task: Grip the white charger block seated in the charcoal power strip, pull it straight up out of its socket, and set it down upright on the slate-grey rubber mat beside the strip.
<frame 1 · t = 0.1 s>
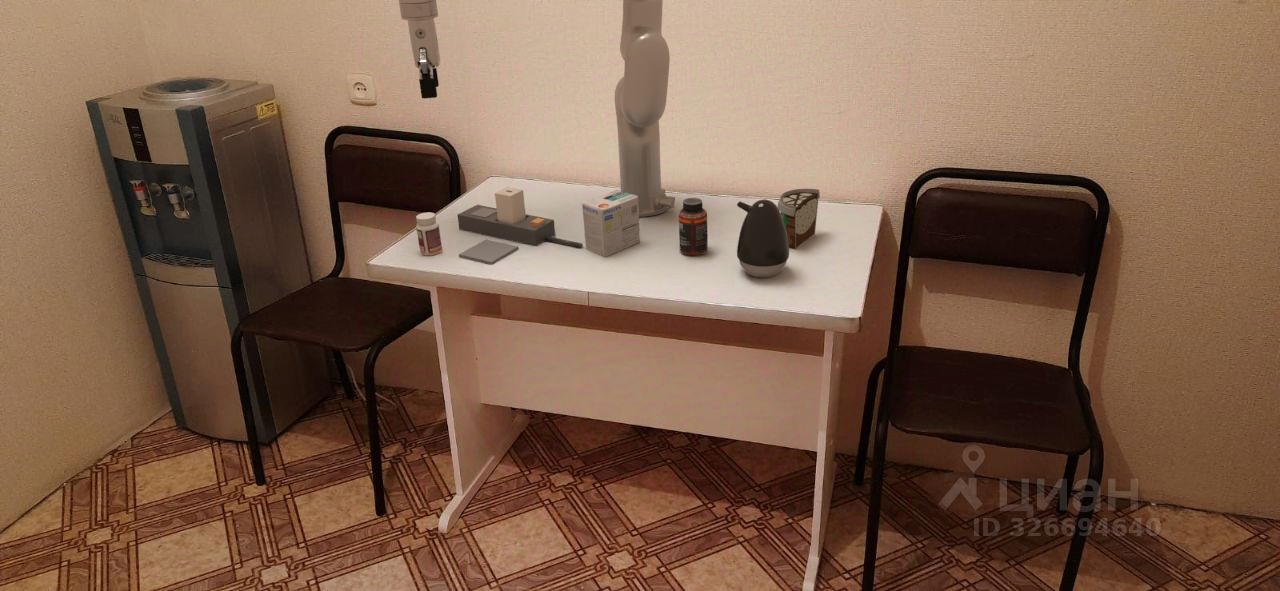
hand: (430, 92, 194), 31 cm above the table, fingers open, 9 cm apart
light bulb box: (613, 246, 194), on the table
food container: (792, 240, 194), on the table
pump dispenser: (761, 272, 180), on the table
pill bottle: (431, 252, 195), on the table
power strip: (506, 232, 204), on the table
grey mat: (489, 252, 193), on the table
charger: (512, 225, 202), point 2 cm above the table, touching power strip
supplement bottle: (693, 252, 190), on the table
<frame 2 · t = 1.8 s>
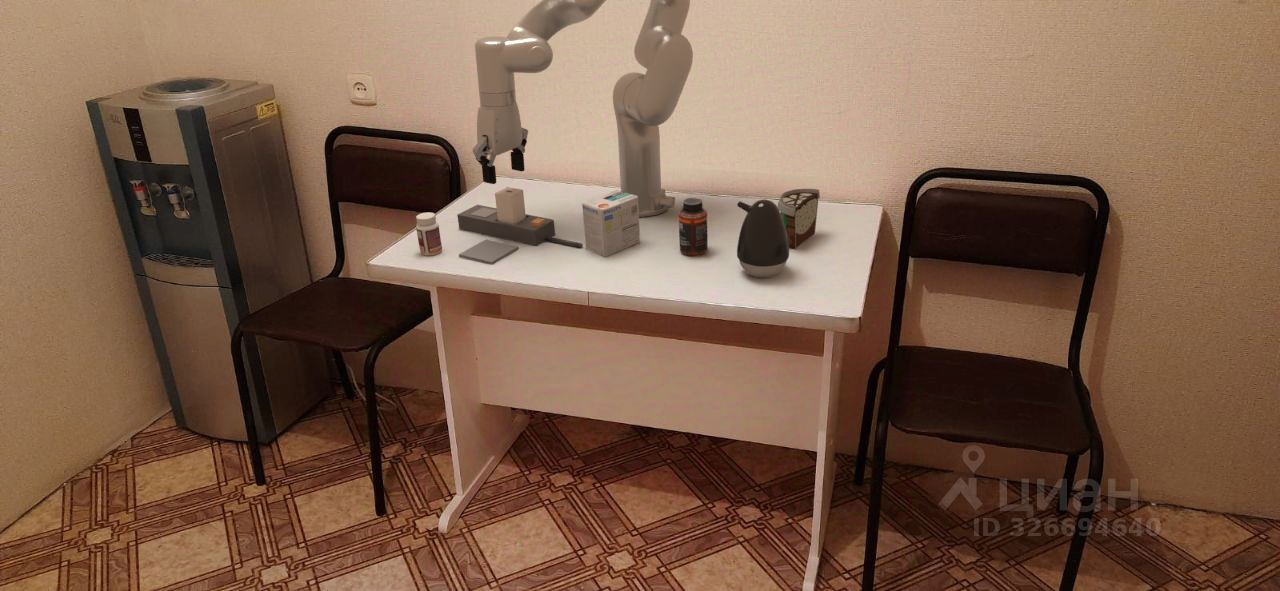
hand: (504, 176, 196), 14 cm above the table, fingers open, 9 cm apart
nothing on the table moved.
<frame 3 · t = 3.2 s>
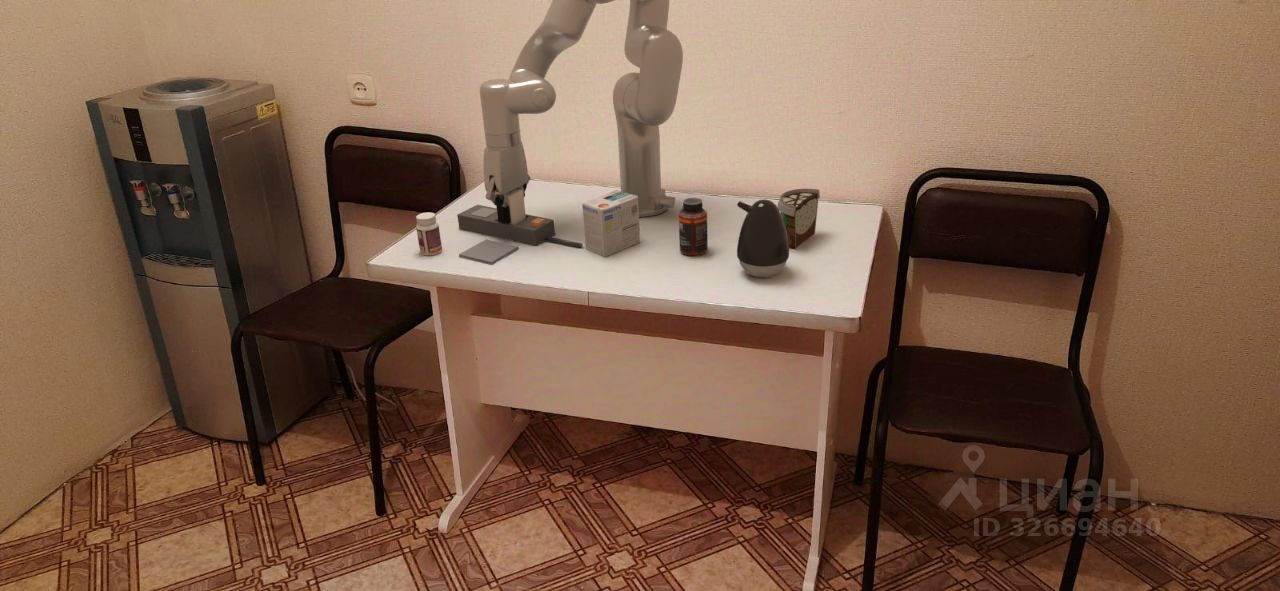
hand: (511, 217, 201), 4 cm above the table, fingers closed on charger, 4 cm apart
charger: (512, 225, 202), point 2 cm above the table, touching gripper, power strip
everything else where it was.
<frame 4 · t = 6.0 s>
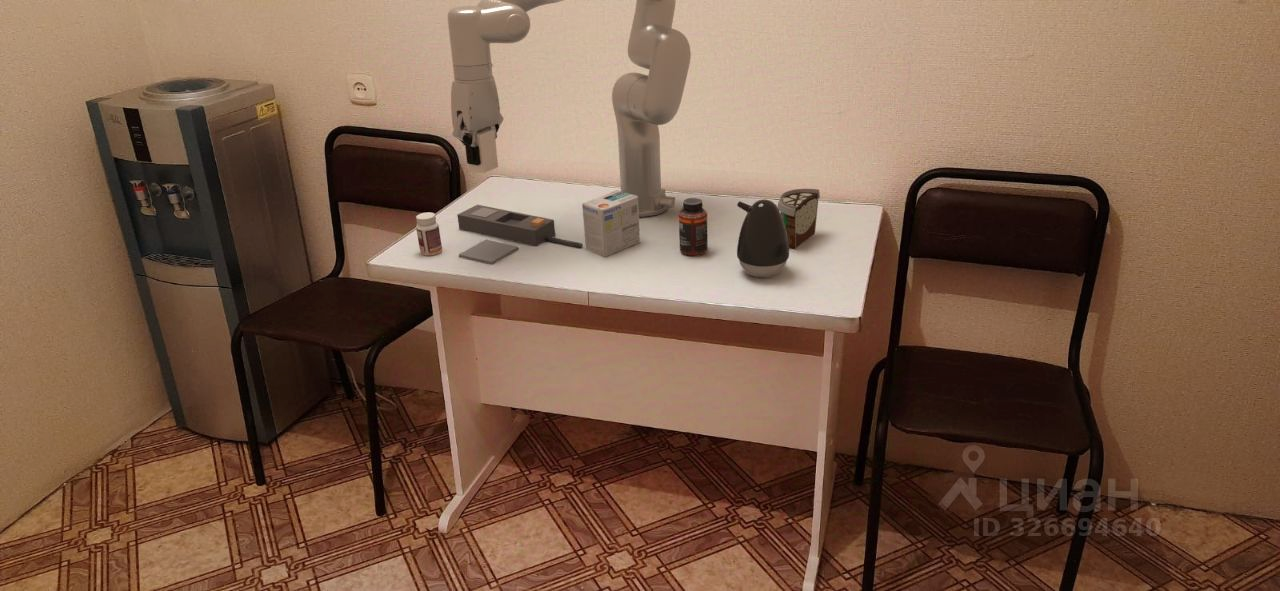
hand: (482, 159, 186), 20 cm above the table, fingers closed on charger, 4 cm apart
charger: (482, 168, 187), point 18 cm above the table, touching gripper
everything else where it was.
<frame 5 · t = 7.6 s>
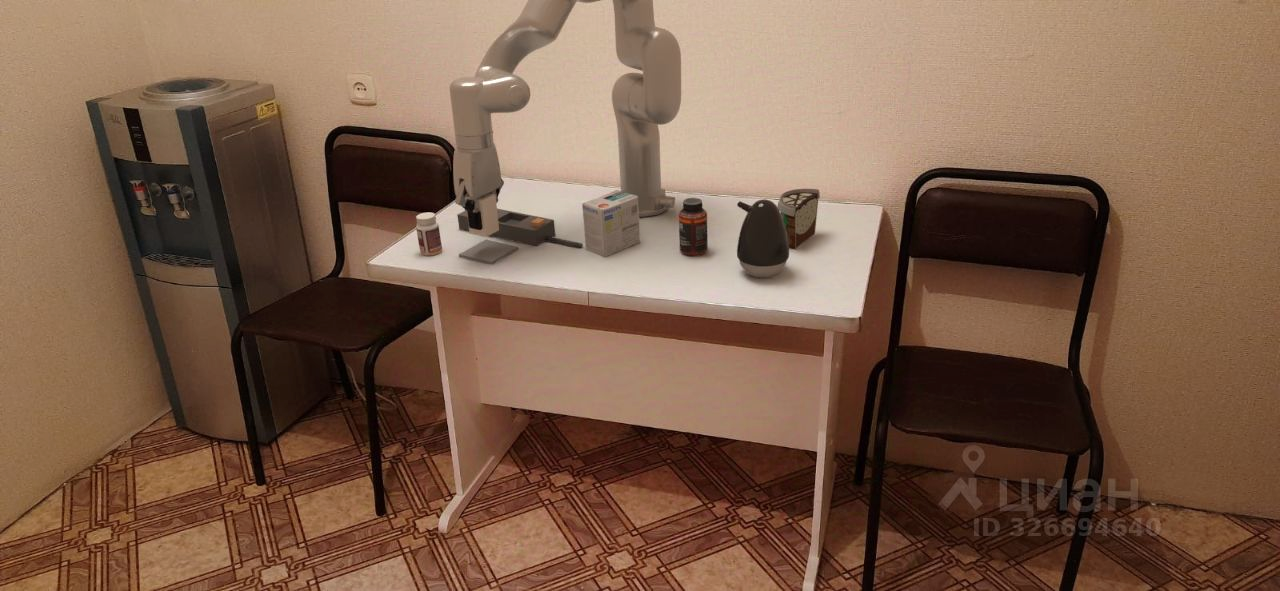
hand: (483, 223, 190), 7 cm above the table, fingers closed on charger, 4 cm apart
charger: (484, 231, 191), point 5 cm above the table, touching gripper
everything else where it was.
when the fingers open (3 cm above the table, at t = 8.8 s): charger stays where it is, resting on grey mat.
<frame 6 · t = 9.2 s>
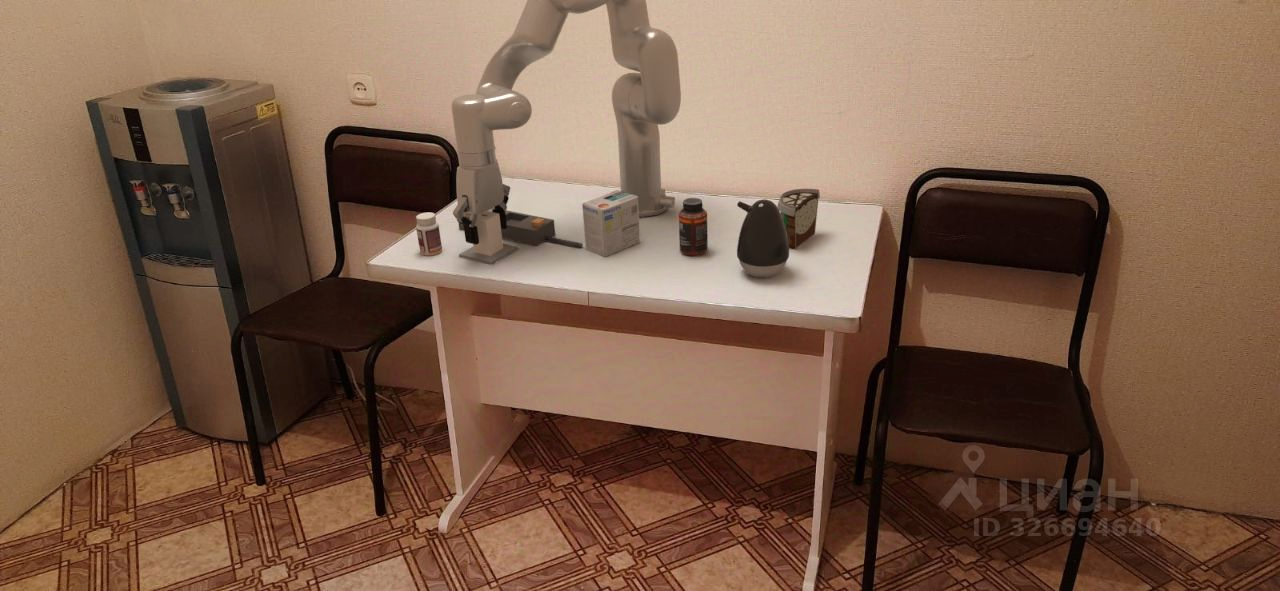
hand: (486, 235, 192), 4 cm above the table, fingers open, 8 cm apart
charger: (488, 250, 193), point 1 cm above the table, touching grey mat
everything else where it was.
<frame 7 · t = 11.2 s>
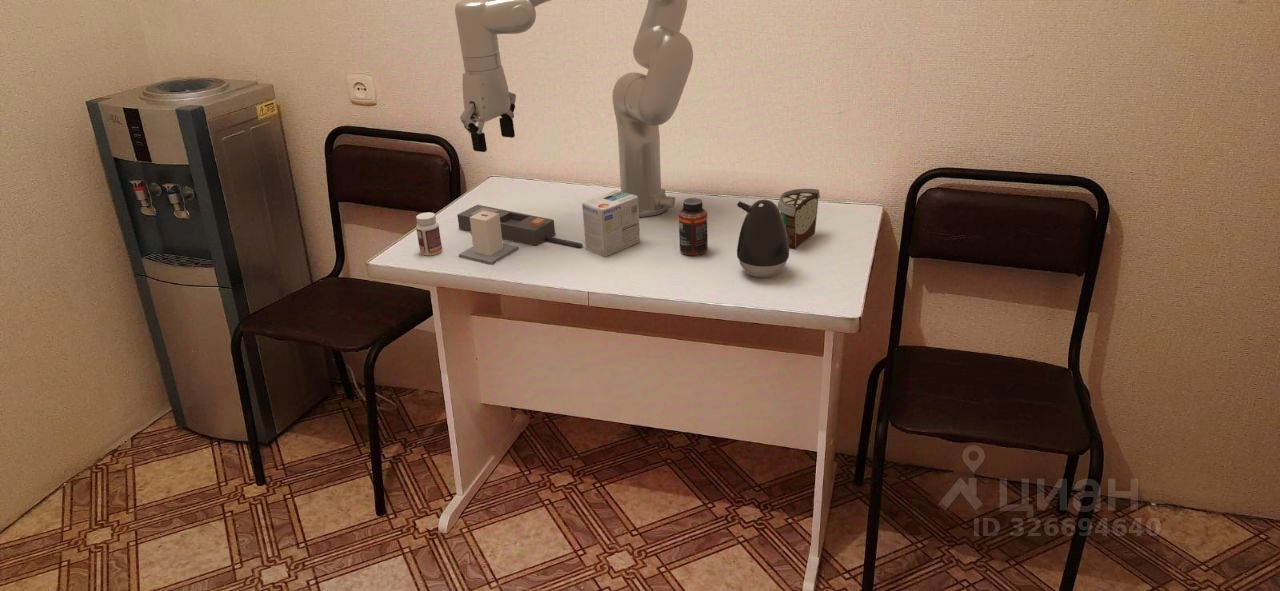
hand: (494, 143, 191), 22 cm above the table, fingers open, 9 cm apart
nothing on the table moved.
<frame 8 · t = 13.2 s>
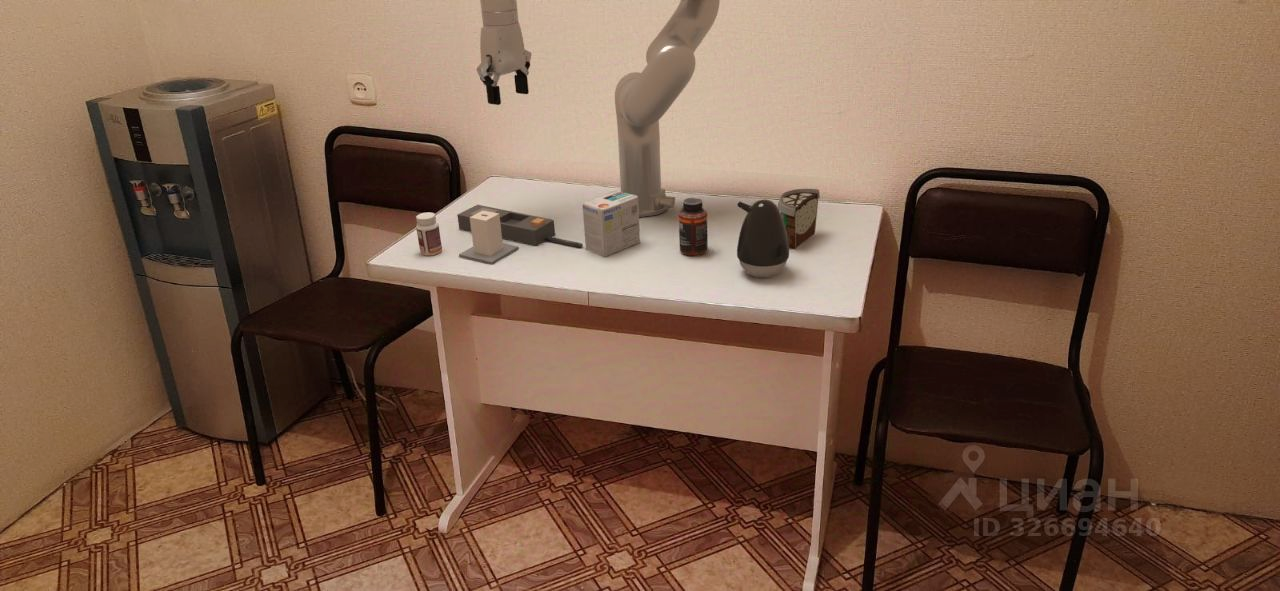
hand: (508, 98, 198), 28 cm above the table, fingers open, 9 cm apart
nothing on the table moved.
at the end: charger inside the target area on the grey mat (0.0 cm from its centre), point 0.6 cm above the grey mat's base; charger tilted 0°; charger touching grey mat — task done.
